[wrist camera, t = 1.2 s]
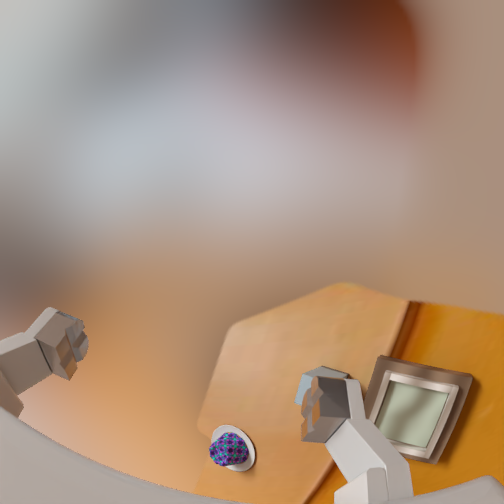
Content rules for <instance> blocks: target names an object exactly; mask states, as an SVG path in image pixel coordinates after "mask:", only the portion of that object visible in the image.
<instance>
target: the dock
mask: <svg viewBox="0 0 504 504" xmlns="http://www.w3.org/2000/svg"><path fill="white" fill-rule="evenodd" d="M472 379H473V377H472V375H471V374H468V373H463V372H457V371H452V370H447V369H442V368H437V367H432V366H427V365H422V364H418V363H413V362H409V361H404V360H400V359H396V358H391V357H387V356H383V355H380V356H379V357H378V358H377V361H376V365H375V368H374V371H373V375H372V378H371V381H370V384H369V387H368V390H367V393H366V396H365V399H364V402H363V404H364V410H365V416H366V419H370V420H371V421H372V422H373V424H374V425H375V426H376V427H377V428H378V429H379V430H380V432H381V433H382V434H383V435H384V436H385V437H386V439H387V440H388V441H389V442H390V443H391V444H392V445H393V446H394V448H395V449H396V450H397V451H398V452H399V453H400V454H401V456H402V457H405V458H409V459H413V460H418V461H422V462H427V463H431V464H436V463H437V462H438V460H439V458H440V456H441V454H442V452H443V450H444V448H445V446H446V444H447V442H448V440H449V438H450V435H451V433H452V431H453V429H454V427H455V424H456V422H457V420H458V417H459V415H460V412H461V410H462V407H463V405H464V402H465V399H466V397H467V394H468V391H469V388H470V385H471V382H472Z"/></svg>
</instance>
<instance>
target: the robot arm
mask: <svg viewBox="0 0 504 504" xmlns="http://www.w3.org/2000/svg"><path fill="white" fill-rule="evenodd" d="M83 329H84V324H83V321H82V320H80V319H78V318H75V317H73V316H70V315H68V314H65V313H63V312H61V311H58V310H56V309H53V308H51V307H49V308H47V309H45V311H44V312H43V313H42V314H41V315H40V316H39V317H38V318H37V319H36V321H35V322H34V323H33V324H32V325H31V326H30V327H29V329H28V330H27V331H26V332H25V333H23V332H21V333H18V334H16V335H13V336H11V337H8V338H6V339H3V340H1V341H0V504H251V503H243V502H235V501H229V500H223V499H217V498H212V497H206V496H202V495H197V494H192V493H188V492H184V491H180V490H176V489H172V488H168V487H165V486H162V485H158V484H155V483H152V482H149V481H145V480H142V479H139V478H137V477H134V476H131V475H128V474H126V473H123V472H120V471H118V470H115V469H113V468H110V467H108V466H105V465H103V464H101V463H98V462H96V461H94V460H92V459H90V458H87V457H85V456H83V455H81V454H79V453H77V452H75V451H73V450H71V449H69V448H67V447H65V446H63V445H61V444H59V443H58V442H56V441H54V440H52V439H51V438H49V437H47V436H45V435H44V434H42V433H40V432H39V431H37V430H35V429H34V428H32V427H30V426H29V425H27V424H26V423H24V422H23V421H21V420H20V419H18V417H19V415H20V413H21V411H22V410H23V408H24V407H23V403H22V402H21V400H20V399H19V398H18V396H17V395H19V394H20V393H22V392H24V391H25V390H27V389H28V388H30V387H32V386H33V385H35V384H37V383H38V382H40V381H42V380H43V379H45V378H46V377H48V376H49V375H51V374H52V373H54V374H56V375H58V376H60V377H63V378H65V379H67V380H70V379H71V378H72V376H73V374H74V373H75V371H76V370H77V362H79V361H81V360H83V358H84V357H85V355H86V353H87V350H88V338H87V335H85V333H84V332H83ZM301 414H302V416H303V417H304V418H305V420H304V422H303V423H302V425H301V441H304V442H316V443H325V446H326V448H327V449H328V451H329V452H330V454H331V456H332V457H333V459H334V461H335V462H336V464H337V465H338V467H339V469H340V470H341V472H342V473H343V475H344V477H345V478H346V480H347V481H348V483H347V484H346V485H344V486H343V487H341V488H340V489H338V490H337V491H336V492H334V504H504V486H503V485H502V484H501V483H500V482H499V481H498V480H496V479H495V478H494V477H493V476H490V475H486V476H482V477H479V478H476V479H474V480H471V481H468V482H465V483H462V484H459V485H456V486H452V487H449V488H446V489H442V490H438V491H435V492H431V493H426V494H422V495H418V496H414V495H413V488H412V481H411V475H410V469H409V463H408V462H407V461H406V460H405V459H404V458H403V457H402V456H401V454H400V453H399V452H398V451H397V450H396V449H395V448H394V446H393V445H392V444H391V443H390V442H389V441H388V440H387V439H386V437H385V436H384V435H383V434H382V433H381V432H380V430H379V429H378V428H377V427H376V426H375V425H374V424H373V422H372V421H371V420H370V419H366V416H365V410H364V404H363V398H362V393H361V387H360V382H359V381H358V380H354V379H343V378H334V377H324V376H315V377H314V378H313V379H312V381H311V388H309V389H307V390H306V392H305V394H304V397H303V401H302V409H301Z"/></svg>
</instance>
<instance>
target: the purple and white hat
mask: <svg viewBox="0 0 504 504" xmlns="http://www.w3.org/2000/svg"><path fill="white" fill-rule="evenodd" d="M226 432H233V433H230V434H228V433H226ZM235 433H236V434H235ZM222 434H223V435H222ZM237 434H238V435H239V436H240V437H242V438H243V439H242V438H239V437H238V436H237ZM221 435H222V436H221ZM245 442H246V444H247V446H248V448H247V447H246V446H245ZM248 450H249V451H248ZM209 451H210V457H211V458H212V459H213V461H214V462H215V463H216V464H219V465H220V466H226V467H227V468H229V469H231V470H234V471H246V470H248V469H249V468H250V467H251V466H252V465H253V463H254V459H255V452H254V448H253V445H252V443H251V441H250V439H249V438H248V437H247V436H246V434H245V433H244V432H242V431H241V430H240V429H238V428H236V427H234V426H231V425H222V426H220V427H218V428H217V429H216V430H215V431H214V433H213V435H212V445H211V446H210V448H209ZM248 453H249V456H248V459H247V456H246V455H248ZM245 461H246V462H245ZM241 462H244V463H242V464H240V463H241Z"/></svg>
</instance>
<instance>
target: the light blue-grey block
mask: <svg viewBox="0 0 504 504" xmlns="http://www.w3.org/2000/svg"><path fill="white" fill-rule="evenodd" d="M348 375H349V374H348V373H344V372H341V371H338V370H334V369H331V368H328V367H325V366H321V367H318V368H316V369H314V370H311V371H309V372H306V373H303V374H302V378H301V381H300V385H299V388H298V391H297V395H296V398H295V402H294V403H296V404H299V405H301V406H302V401H303V397H304V394H305V392H306V390H307V389H309V388H311V381H312V379H313V378H314V377H315V376H324V377H334V378H343V379H347V378H348Z"/></svg>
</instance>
